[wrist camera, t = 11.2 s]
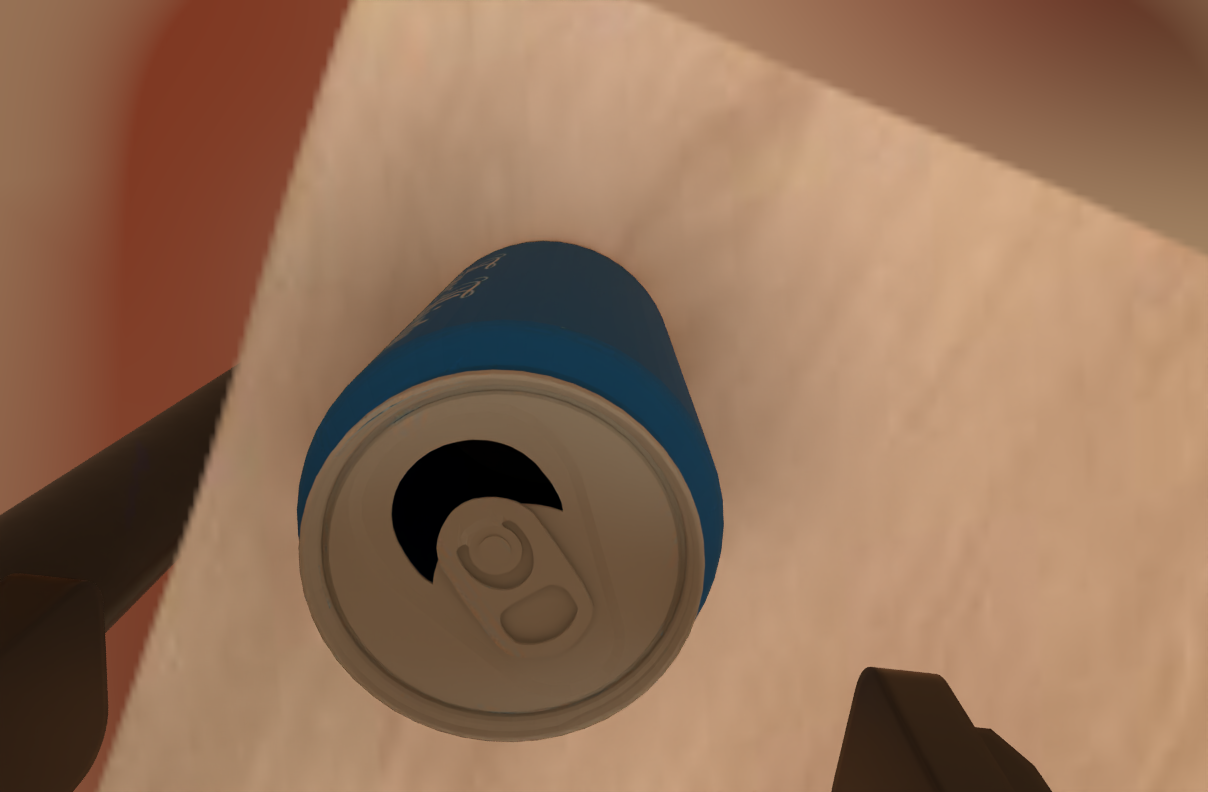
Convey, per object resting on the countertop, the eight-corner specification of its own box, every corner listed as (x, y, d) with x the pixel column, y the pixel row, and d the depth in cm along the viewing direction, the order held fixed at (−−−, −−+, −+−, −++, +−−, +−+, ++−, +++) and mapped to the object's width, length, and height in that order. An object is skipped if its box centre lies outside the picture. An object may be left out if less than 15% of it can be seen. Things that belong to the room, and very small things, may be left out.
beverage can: (589, 189, 22) (581, 244, 11) (712, 398, 24) (817, 640, 13) (380, 318, 23) (167, 496, 12) (511, 512, 25) (437, 835, 13)
